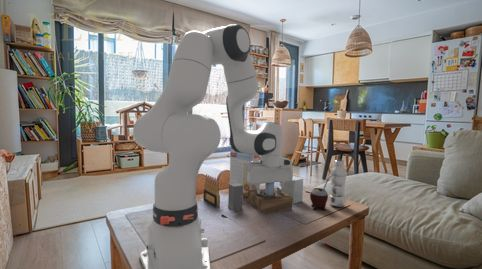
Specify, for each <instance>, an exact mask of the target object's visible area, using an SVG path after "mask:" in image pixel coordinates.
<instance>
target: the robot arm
mask: <svg viewBox="0 0 482 269" xmlns="http://www.w3.org/2000/svg"><path fill="white" fill-rule="evenodd" d="M250 50H251V38H250V35H249V32H248V31H247V29H246V28H245V27H244V26H242V25H241V24H228V25H226V26H220V27H215V28H211V29H208V30H205V31H202V32H201V31H198V30H190V31H187V32H185V34H184V35H183V36H182V37H181V39H180V41H179V43H178V45H177V47H176V50H175V52H174V56H173V59H172V62H171V65H170V69H169V73H168V76H167V80H166V84H165V86H164V88H163V90H162V92H161V94H160V96H159V97H158V98H157V100H156V101H155V103H154V105H152V106H151V107H150V109H149V110H147V112H145V113H144V114H142V115H141V116H139V117H138V118H137V120H135V122H134V124H133V128H132V136H133V139H134V141H135V143H136V144H137V145H138V146H139V147H141V148H143V149H145V150H148V151H151V152H154V153H162V154H170V155H169V156H170V158H169V161H168V165H167V167H165V168H163V169H161V170H160V171H159V172H158V173H157V174H156V176H155V177H154V202H153V205H152V218H153V219H152V221H151V222H150V223H149V224H148V225H147V227H146V228H147V233H146V236H147V237H146V249H144V250H142V251H141V252H140V253H139V259H140V262H141V265H142V268H143V269H211V261H210V251H209V250H210V249H209V240H208V237H202V234H203V233H205V227H202V219H201V218H200V217H199V215H198V214H199V207H198V202H197V183H198V182H197V181H198V174H199V171H200V170H201V167H202V165H203V163H204V162H205V160H206V159H207V158H208V157H209V156H211V155H212V154H214V153H215V151H216V150H217V149H218V147H219V146H220V144H221V143H220V142H221V140H222V139H221V137H222V136H221V129H220V126H219V124H218V123H217V121H216V120H215V119H214V118H211V117H208V116H205V115H201V114H193V113H191V114H190V113H189V112H190V111H191V110H192V109H193V108H194V107H196V106H197V105H199V104H201V103H202V102H203V101H204V100H205V97H206V94H207V91H208V87H209V82H210V81H209V80H210V78H211V73H212V72H211V71H212V66H216V65H221V66H222V67H223V73H224V77H225V78H224V80H225V82H226V86H227V96H226V99H225V103H226V111H227V112H226V114H227V119H228V127H229V134H230V135H229V136H230V137H229V143H230V146H231V150H234V151H235V152H238V153H248V154H254V155H260V161H255V162H254V161H252V162H251V163H249V164H248V173H247V181H248V183H250V184H255V186H256V188H257V193H258V194H262V190H261V189H262V188H260V187H261V184H266V183H274V184H275V183H279V186H278V187H276V188H277V191H278V192H282V188H283V186H284V184H285V182H287V181H291V180H292V179H293V176H294V168H293V166H292V165H293V160H292V159H289V158H286V157H285V156H283V152H282V146H283V129H282V125H281V124H280V123H278V122H274V121H273V122H272V121H264V122H263V124H262V126H261V127H259V128H258V129H256V130H254V129H252V130H251V129H248V128H246V127H245V124H244V123H245V122H244V118H243V115H244V114H243V107H244V105H245V104H247V103H248V102H250V101H252V100H253V99H254V98H255V96H256V95H257V93H258V91H259V83H258V78H257V77H258V76H257V74H256V69H255V66H254V62H253V60H252V58H251V55H250Z"/></svg>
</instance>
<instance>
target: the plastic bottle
mask: <svg viewBox="0 0 482 269" xmlns="http://www.w3.org/2000/svg"><path fill="white" fill-rule="evenodd" d="M333 165H334V166H332V168H331V169H330V171H329V172H330V176H331V175H333V174H334V175H333V176H332V177H330V184H331V185H330V192H329V195H328V203H329V204H330V205H331V206H333V207H337V208H340V207H341V208H343V207H344V206H345V204H346V197H345V196H346V195H345V187H346V186H345V185H346V179H347V175H348V172H347V169H346V168H345V167H344V166H345V160H344V159H335V160H334V164H333Z"/></svg>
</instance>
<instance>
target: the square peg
mask: <svg viewBox="0 0 482 269" xmlns="http://www.w3.org/2000/svg"><path fill="white" fill-rule="evenodd" d="M243 197H244V196H243V185H241V184H239V183H231V184H230V183H228V199H227V200H228V207H227V208H228V209H230V210H231V211H232V212H235V211H239V210H240V211H241V210H243Z"/></svg>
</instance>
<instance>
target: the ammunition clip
mask: <svg viewBox="0 0 482 269" xmlns="http://www.w3.org/2000/svg"><path fill="white" fill-rule="evenodd" d="M204 178H205V179H204V186H203V187H204V189H203V197H202V198H203V201H204V202H205V203H207V204H209V205H210V206H212V207H214V208H216V209H217V208H220V207H221V195H220V185H219V184H220V183H219V182H220V181H219V178H216V177H214V176H212V175H209V174H207V173H205V176H204Z"/></svg>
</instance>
